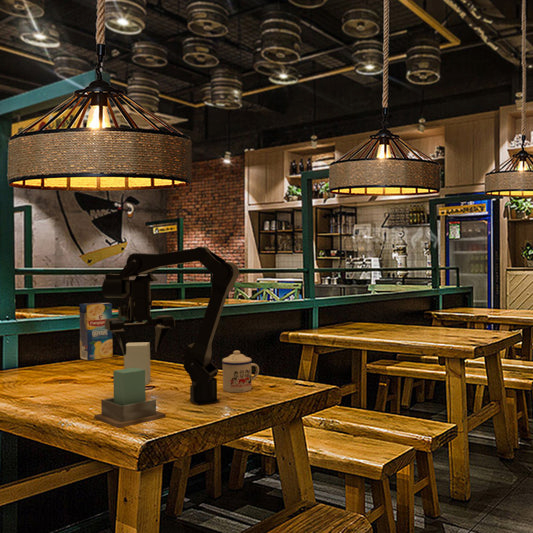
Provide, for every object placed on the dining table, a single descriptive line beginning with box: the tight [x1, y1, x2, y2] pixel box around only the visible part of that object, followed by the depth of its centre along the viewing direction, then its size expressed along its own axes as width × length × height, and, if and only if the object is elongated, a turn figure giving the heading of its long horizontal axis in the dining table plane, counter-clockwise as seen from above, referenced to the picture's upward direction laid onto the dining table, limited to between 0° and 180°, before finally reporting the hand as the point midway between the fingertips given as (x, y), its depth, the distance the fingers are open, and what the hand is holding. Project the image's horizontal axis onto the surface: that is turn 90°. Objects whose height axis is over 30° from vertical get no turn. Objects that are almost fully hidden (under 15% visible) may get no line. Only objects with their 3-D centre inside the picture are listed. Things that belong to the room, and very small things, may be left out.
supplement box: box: [123, 341, 152, 386], centre depth 189 cm, size 7×7×13 cm
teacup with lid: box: [221, 350, 260, 393], centre depth 178 cm, size 12×9×12 cm
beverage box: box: [78, 302, 114, 361], centre depth 241 cm, size 7×11×22 cm, turn 133°
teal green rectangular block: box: [112, 368, 147, 406], centre depth 147 cm, size 6×5×11 cm
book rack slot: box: [93, 397, 166, 429], centre depth 147 cm, size 13×12×4 cm
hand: (140, 353), depth 166 cm, fingers open, 9 cm apart
